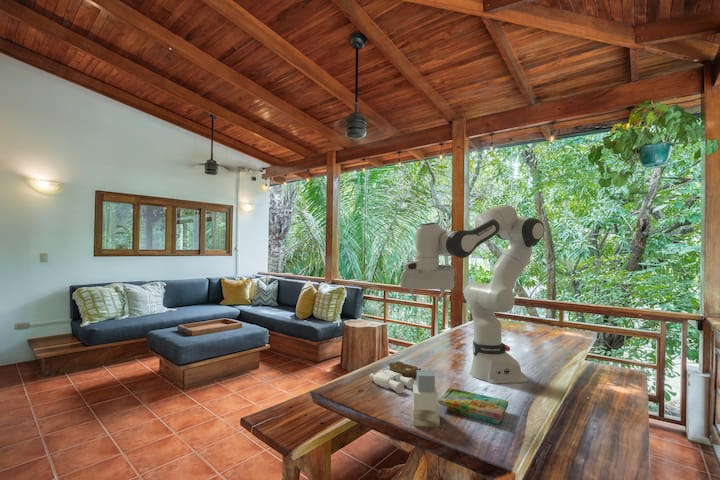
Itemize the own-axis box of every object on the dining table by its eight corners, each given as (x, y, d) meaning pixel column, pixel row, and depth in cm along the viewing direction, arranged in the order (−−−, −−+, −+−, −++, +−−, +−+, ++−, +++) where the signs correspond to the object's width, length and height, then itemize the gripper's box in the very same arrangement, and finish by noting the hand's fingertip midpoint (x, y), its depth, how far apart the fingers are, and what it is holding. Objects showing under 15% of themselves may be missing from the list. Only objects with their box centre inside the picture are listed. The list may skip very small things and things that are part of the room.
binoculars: (397, 395, 128) (397, 383, 128) (367, 382, 140) (367, 371, 140) (414, 388, 135) (414, 376, 135) (384, 376, 147) (384, 365, 147)
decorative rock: (380, 373, 151) (410, 384, 141) (380, 364, 150) (410, 374, 141) (395, 365, 159) (424, 374, 150) (395, 356, 159) (424, 365, 150)
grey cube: (431, 385, 112) (431, 370, 112) (434, 392, 107) (434, 376, 107) (416, 385, 113) (416, 369, 113) (418, 391, 108) (418, 375, 108)
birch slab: (435, 414, 114) (435, 399, 114) (439, 427, 106) (439, 411, 106) (411, 413, 114) (411, 398, 114) (413, 426, 106) (413, 409, 106)
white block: (434, 400, 113) (434, 385, 113) (437, 410, 106) (437, 394, 106) (412, 399, 113) (412, 384, 114) (413, 409, 106) (414, 393, 107)
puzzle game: (501, 413, 106) (438, 397, 116) (501, 428, 105) (438, 411, 116) (508, 398, 115) (449, 385, 126) (508, 412, 115) (449, 398, 126)
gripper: (453, 264, 135) (452, 300, 135) (400, 264, 137) (400, 299, 136) (456, 265, 129) (456, 302, 129) (401, 264, 130) (400, 301, 130)
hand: (426, 300), depth 132 cm, fingers open, 8 cm apart
